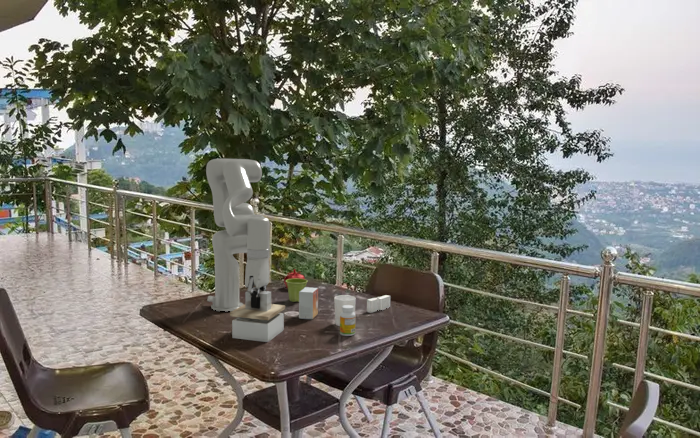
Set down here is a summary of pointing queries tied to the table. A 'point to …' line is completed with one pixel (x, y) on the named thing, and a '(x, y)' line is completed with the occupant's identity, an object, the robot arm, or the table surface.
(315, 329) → the table surface
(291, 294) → the plant pot
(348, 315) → the supplement bottle
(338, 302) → the white cup
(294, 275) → the pomegranate
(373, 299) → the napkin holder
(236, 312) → the cover plate
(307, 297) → the small box
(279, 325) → the shallow square tray
